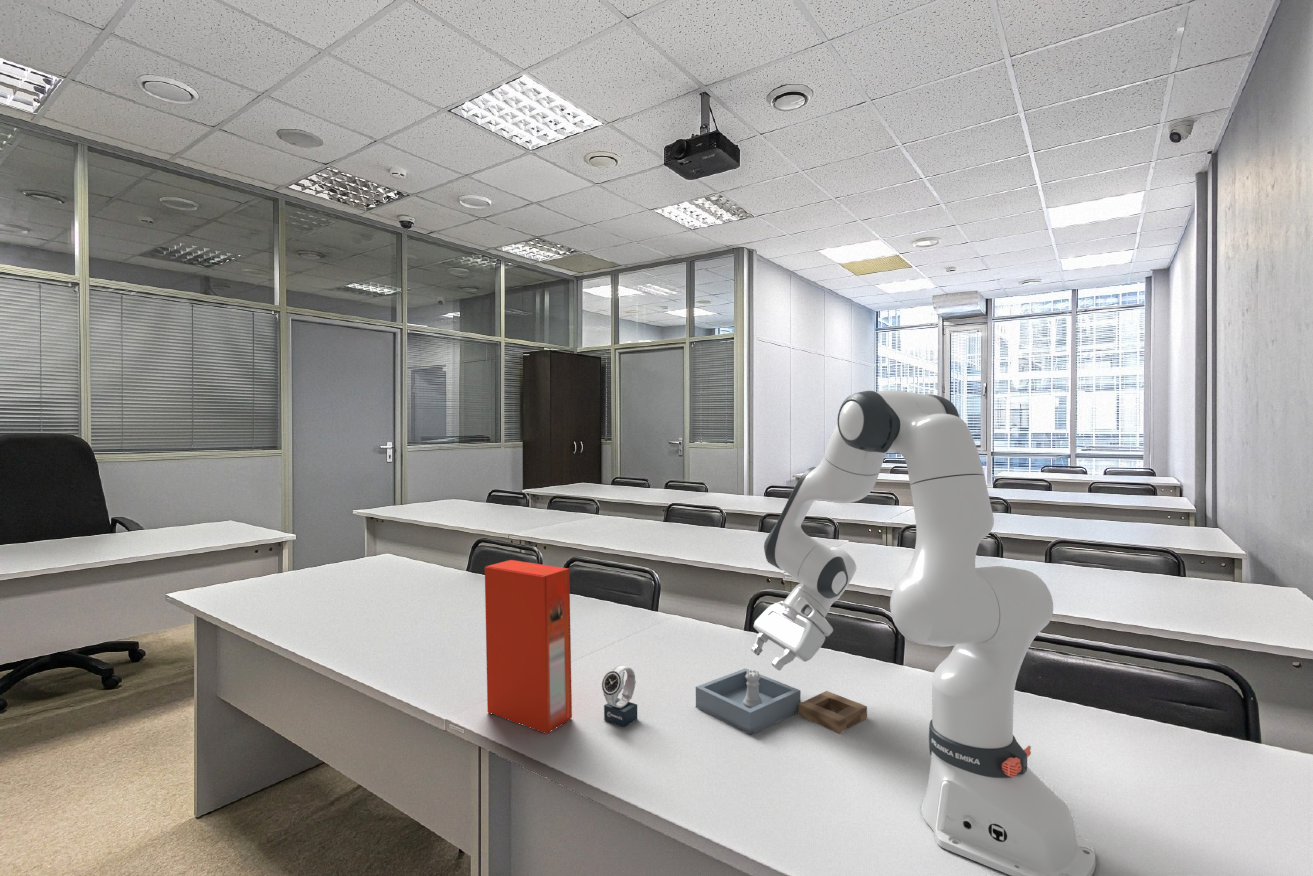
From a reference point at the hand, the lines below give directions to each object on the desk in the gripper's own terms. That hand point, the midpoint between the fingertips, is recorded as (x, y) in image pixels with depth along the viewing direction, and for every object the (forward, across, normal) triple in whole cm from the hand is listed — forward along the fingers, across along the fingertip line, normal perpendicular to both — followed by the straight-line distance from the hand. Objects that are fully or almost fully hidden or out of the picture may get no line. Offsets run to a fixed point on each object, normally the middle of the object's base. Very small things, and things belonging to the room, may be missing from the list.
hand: (764, 660), depth 132 cm
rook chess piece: (+10, +2, +4) cm, 10 cm away
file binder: (+42, -13, -28) cm, 52 cm away
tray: (+10, 0, +5) cm, 11 cm away
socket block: (-1, +9, +15) cm, 18 cm away
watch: (+30, -5, -15) cm, 33 cm away
